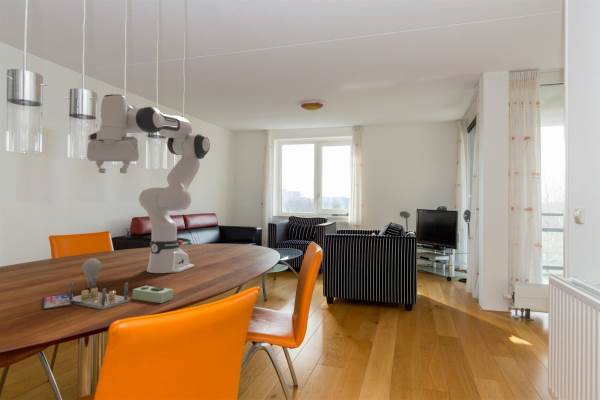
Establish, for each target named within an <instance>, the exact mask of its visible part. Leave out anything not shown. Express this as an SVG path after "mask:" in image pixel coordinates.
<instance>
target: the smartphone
mask: <svg viewBox="0 0 600 400" xmlns="http://www.w3.org/2000/svg"><path fill="white" fill-rule="evenodd" d="M68 298H69V293H61V294H55V295H54V294H53V295H47V296H43V297H42V307H41V309H42V310H41V311H48V310H56V309H63V308H64V309H65V308H70V307H72V306H73V304H72V302H71V301H66V299H68Z"/></svg>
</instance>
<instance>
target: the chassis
mask: <svg viewBox="0 0 600 400" xmlns="http://www.w3.org/2000/svg"><path fill="white" fill-rule="evenodd" d="M68 286H69V288H68V294H69V298H68V299H66V301H71V302H72V305H79V306H84V307H87V308H93V309H99V310H107V309H109V308H112V307H116V306H119V305H122V304H125V303H128V302H131V301H132V300H131V298H132V297H129V295H128V294H129V282H124V289H123V292H124V295H117V291H116V290H109V291H108V293H107V288H105V287H104V288H102V289H101V290H102V291H101V292H100V291H99V289H98V287H97V280H96V278H93V285H92V288H90V290H89V289H83V290H81V295H75V296H74V283H73V282H69V285H68Z"/></svg>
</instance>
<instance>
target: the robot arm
mask: <svg viewBox="0 0 600 400" xmlns="http://www.w3.org/2000/svg"><path fill="white" fill-rule="evenodd" d="M100 105H101V106H100V119H101V123H100V128H99V129H100V130H99V129H98V130H97V131H95V132H93V133H90V134H88V135H87V139H88V141H89V142H88V144H87V148H86V149H87V150H86V157H87V159H88V161H91V162H95V165H96V166H97V168H98V173H99V174H106V168H104V162H122V164H123V165H122V167H121V168H119V173H120V174H127V172H128V168H129V166H130V163H131V162H138V160H139V157H140V156H139V155H140V154H139V146H138V144H139V143H138V142H139V141H138V139H137V138H136V137H135V136H133V135H131V136H127V134H139V133H140V134H141V133H143V134H144V133H149V134H151V133H152V134H153V133H155V134H156V133H158V134H159V135H160V136H162V137H165V138H167V144H166V145H167V149H168V151H169V153H171V154H173V155H175V156H179V155H180V156H181V157H180V159H179V160H178V161H177V163H176V164H175V165H174V167H172V169H171V170H170V172H169V173H168V174H167V176H166V180H167V184H168V186H166V187H149V188H146V189H143V190H142V191H141V192H140V194H139V196H138V201H139V203H140V206H141V208H142V209H144V210H145V211H146V214H147V215H148V217H149V221H150V226H151V228H150V229H151V240H150V241H149V242H150V243H149V247H150V252H149V260H148V264H147V265H148V266H147V267H146V268H147V269H146V272H148V273H150V274H151V273H152V274H167V273H168V274H169V273H181V272H184V271H186V270H188V269H191V268H193V267H195V264H193V263H190V258H189V255H188V253H187V252H185V251H184V250H182V248H180V245H181V246H182V245H183V244H184V241H183V240H178V236H177V235H178V225H177V222H176V221H175V220H173V219H172V218H171V216H170V214H169V212H180V211H184V210H185V211H186V210H187V209H188V208H189V207H190V205H191V203H192V196H191V194H190V193H191V192H190V191H188V190H189V187H190V184H192V182H193V180H194V179H195V177H196V175H197V174H198V171H199V168H200V165H201V164H200V160H202V159H204V158H205V157H206V155H208V152H209V151H210V148H211V143H210V139H209V138H208V136H206V135H204V134H200V133H198V134H195V133H192V131H193V130H192V129H193V127H192V124H191V122H190V121H189V120H188V119H186V118H185V117H182V116H180V115H176V114H171V113H167V114H165V113H163V112H161V111H160V110H159V109H158V108H156V107H153V106H144V107H135V108H134V107H133V106H131V105H130V104H129V103H128V102H127V99H126V96H124V95H122V94H118V93H117V94H115V93H113V94H112V93H111V94H105V95H104V96H103V98H102V100H101V103H100Z"/></svg>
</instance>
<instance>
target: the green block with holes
mask: <svg viewBox="0 0 600 400" xmlns="http://www.w3.org/2000/svg"><path fill="white" fill-rule="evenodd" d="M137 299H138V300H140V301H145V302H150V303H151V302H152V303H158V304H163V303H165V302H168V301H170V300H173V299H174V289H173V288H168V287H167V288H166V287H161V286H151V285H150V286H149V285H144V286H140V287H136V288H133V289H132V300H137Z"/></svg>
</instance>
